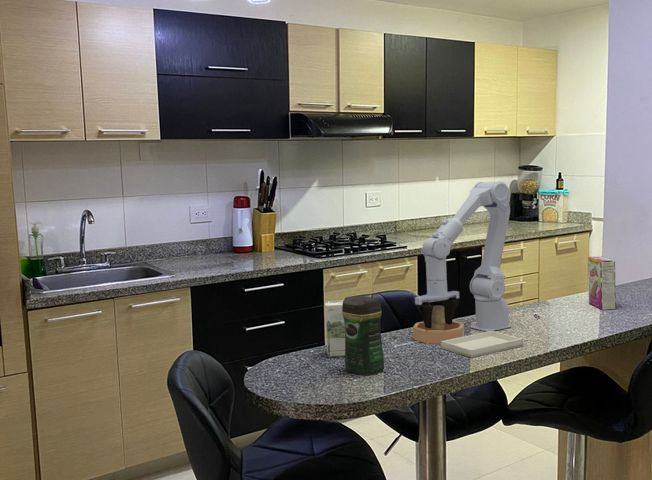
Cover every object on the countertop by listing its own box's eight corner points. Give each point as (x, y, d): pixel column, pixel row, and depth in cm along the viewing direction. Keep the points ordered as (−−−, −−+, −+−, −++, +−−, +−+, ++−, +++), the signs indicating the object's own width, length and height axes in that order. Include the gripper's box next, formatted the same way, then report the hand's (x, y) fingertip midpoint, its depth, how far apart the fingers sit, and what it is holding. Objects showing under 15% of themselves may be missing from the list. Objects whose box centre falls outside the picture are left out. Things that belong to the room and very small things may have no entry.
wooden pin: (440, 335, 190) (438, 305, 189) (447, 337, 187) (446, 306, 186) (430, 337, 188) (428, 306, 187) (437, 339, 185) (436, 308, 184)
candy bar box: (587, 304, 221) (586, 256, 220) (602, 303, 221) (601, 255, 220) (601, 310, 210) (600, 260, 209) (616, 309, 210) (615, 259, 209)
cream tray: (491, 337, 184) (491, 330, 184) (523, 346, 173) (522, 338, 173) (441, 348, 175) (441, 341, 175) (471, 358, 165) (471, 350, 165)
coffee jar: (390, 370, 158) (386, 296, 156) (366, 378, 153) (362, 301, 151) (363, 363, 165) (360, 291, 164) (339, 370, 160) (336, 296, 159)
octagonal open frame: (442, 329, 197) (442, 317, 196) (473, 337, 184) (473, 325, 184) (405, 336, 190) (404, 325, 190) (434, 346, 178) (434, 333, 178)
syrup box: (347, 351, 178) (345, 299, 177) (349, 356, 172) (346, 303, 171) (327, 352, 178) (324, 300, 176) (327, 358, 172) (325, 304, 171)
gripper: (447, 275, 193) (449, 319, 194) (407, 280, 186) (409, 327, 187) (463, 277, 186) (464, 323, 188) (422, 283, 180) (424, 331, 181)
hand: (438, 325), depth 187 cm, fingers open, 7 cm apart
